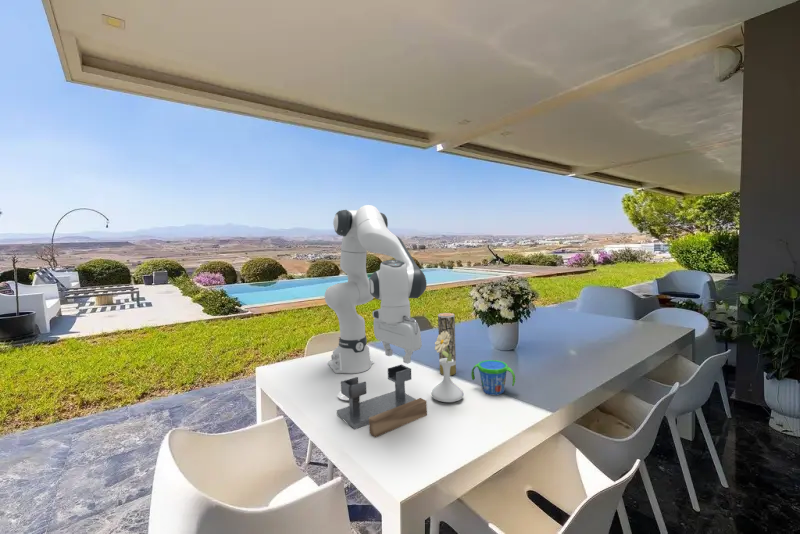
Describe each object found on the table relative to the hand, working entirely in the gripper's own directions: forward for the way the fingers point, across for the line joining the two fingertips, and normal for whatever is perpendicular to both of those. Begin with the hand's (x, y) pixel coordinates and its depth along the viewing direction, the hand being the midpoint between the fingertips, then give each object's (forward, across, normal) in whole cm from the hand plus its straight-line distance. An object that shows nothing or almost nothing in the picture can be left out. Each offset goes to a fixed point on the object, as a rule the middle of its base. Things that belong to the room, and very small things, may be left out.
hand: (397, 359), depth 110 cm
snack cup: (+21, -3, -40) cm, 45 cm away
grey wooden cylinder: (+20, +21, -40) cm, 50 cm away
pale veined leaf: (+21, +28, +3) cm, 35 cm away
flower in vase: (+21, +3, -23) cm, 31 cm away
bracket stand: (+20, +12, 0) cm, 24 cm away
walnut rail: (+21, 0, 0) cm, 21 cm away
